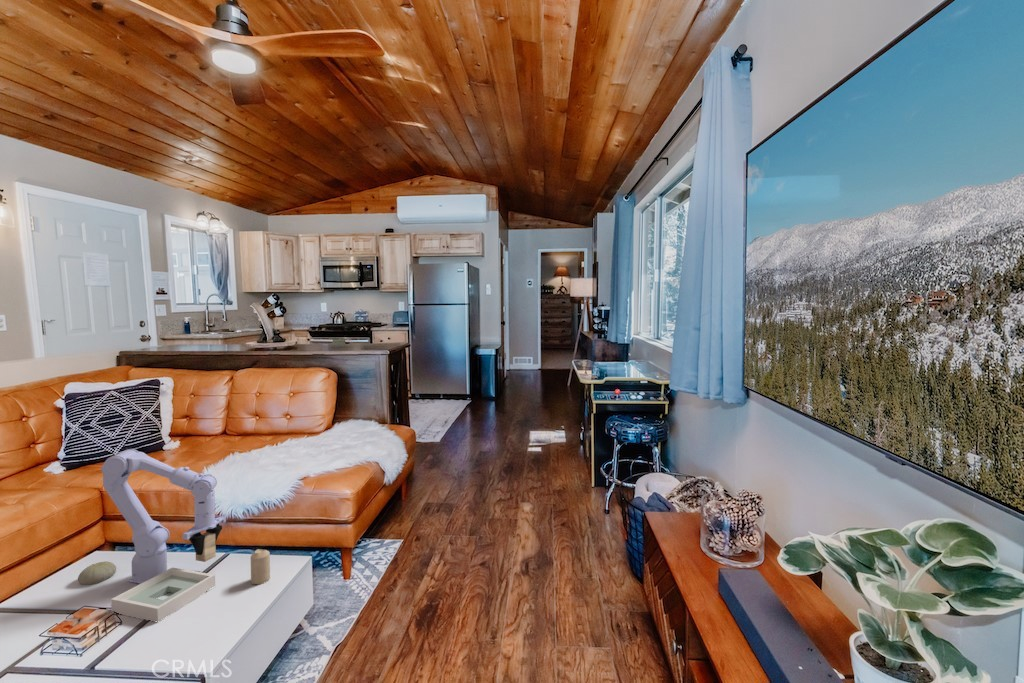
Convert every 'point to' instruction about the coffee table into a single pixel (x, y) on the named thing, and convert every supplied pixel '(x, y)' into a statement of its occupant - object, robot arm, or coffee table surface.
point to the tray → (172, 580)
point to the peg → (207, 548)
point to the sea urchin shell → (97, 573)
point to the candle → (260, 566)
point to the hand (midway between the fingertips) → (205, 550)
